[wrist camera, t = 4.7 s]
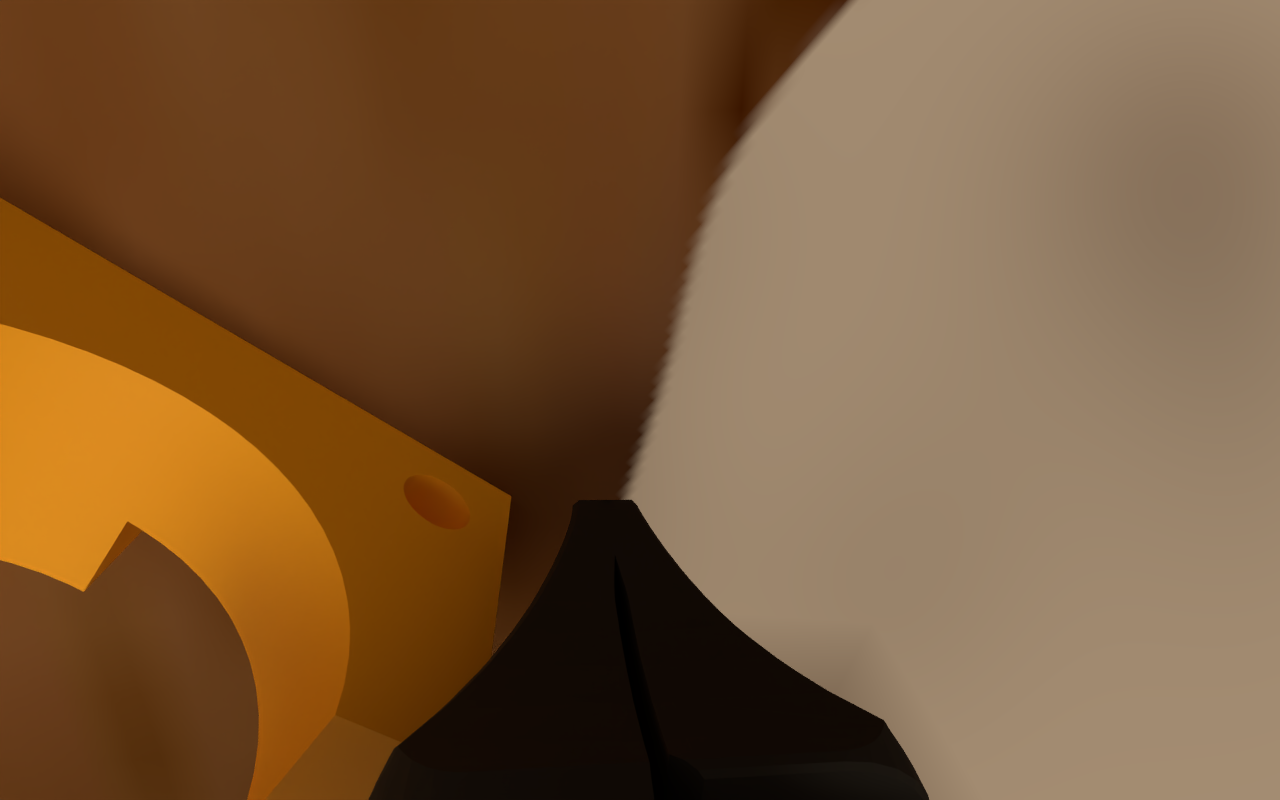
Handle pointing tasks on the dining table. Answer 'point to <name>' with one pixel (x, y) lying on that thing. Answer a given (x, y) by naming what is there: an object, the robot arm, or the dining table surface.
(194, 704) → the dining table surface
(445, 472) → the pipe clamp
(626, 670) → the robot arm
